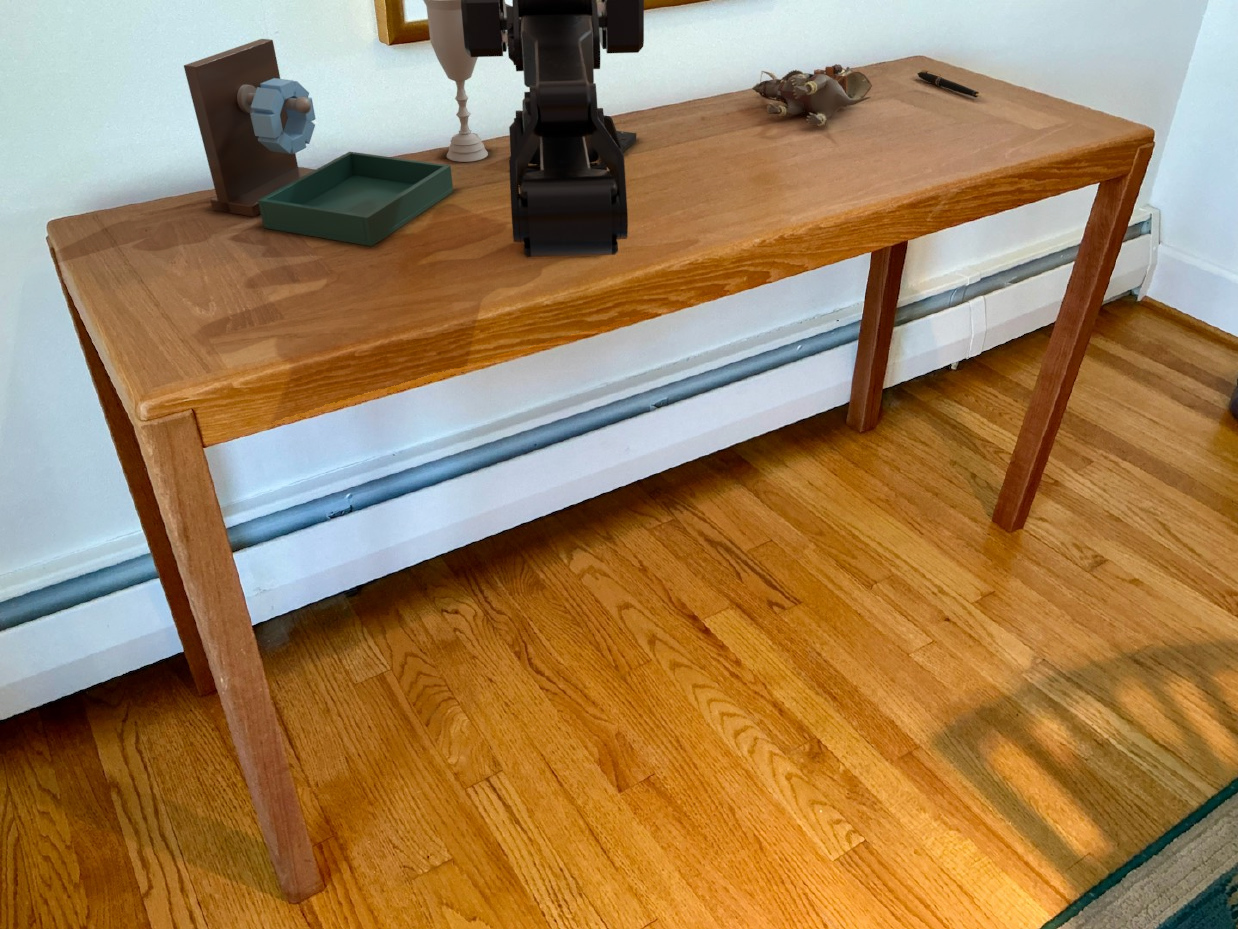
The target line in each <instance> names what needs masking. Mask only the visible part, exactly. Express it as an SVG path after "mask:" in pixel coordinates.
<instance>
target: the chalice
mask: <svg viewBox="0 0 1238 929" xmlns="http://www.w3.org/2000/svg"><path fill="white" fill-rule="evenodd" d="M422 1H423V2H424V5H425V6H426V13H427V14H426V16H427V23H428V24H427V25H428V33H429V40H430V45H431V47H432V49H433V51H434V54H435V56H436V58H437V61H438V62H439V64H440V66H441V68H442V70H443V72H444V73H445V75H446V77H447V78H448V79H449V80H451V81H454V82H455V85H456V96H455V97H454V99H455V101H456V102H457V105H458V111H457V112H456V114H455V116H456V117H457V118H458V119H459V122H460V123H459V124H460V129H459V130H458V133H456V134H454V135H453V136H452V138H451V139H450V143H449V146H448V152H447V154H446V158H447V159H448V160H450V161H453V162H460V163H466V162H467V163H470V162H476V161H480V160H483V159H485V158H487V157H488V155H489V152H488V151H487V150H486V148H485V144H484V143H483V142H482V138H481V137H480V136H479V135H478V134H477V133H475V132H472V130H471V129H470V126H469V117H470V116H471V111H469V110H468V108H467V104H468V103H467V102H468V100H469V96H468V95H467V92H466V89H465V84H466V81H468V80H469V79H471V78H472V76H473V73H474V70H475V67H476V64H477V61H478V58H479V57H470V55H469V54H468V53H467V52H466V51H465V45H464V34H463V23H462V12H461V0H422Z"/></svg>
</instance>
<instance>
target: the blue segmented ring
mask: <svg viewBox="0 0 1238 929" xmlns="http://www.w3.org/2000/svg"><path fill="white" fill-rule="evenodd" d="M260 85H261V88H258V87H257V89H256V92H255V95H254V99H253V102H252V105H251V108H252V109H253V110H254V111H255V112H253V113H250V115H251V119H252V124H253V128H254V133H255V136H259V138H258V141H259V142H260V143H262V144H263V145H264V146H265V147H266V148H268V149H269V150H270V151H274V152H282V153H289V154H296V153H299V152H301V151H303V150H306V148H307V145H310V143H311V140H312V138H313V135H314V134H313V133H314V131H315V128H316V124H315V123H314V122H313V121H315V120H316V119H317V118H316V113H315V108H314V103H313V98H312V97H309V96H310V92H309V91H308V90H307V89H306V88H305V87H304V86H303V85H302V84H301V83H300V82H299V81H296V80H293V79H285V78H280V79H277V78H273V79H271V80H268V81H266V82H263V83H261V84H260ZM298 97H306V98H307V99H308V100H309V101H310V103H311V110H310V111H309V112H308V113H307V114H300V113H298V112H297V111H294V110H286V111H287V116H288V119H287V123H286V126H285V129H284V132H283V128H282V123H281V118H280V113H281V110H282V106H283V103H284V100H286V99H288V98H296V99H297V98H298Z"/></svg>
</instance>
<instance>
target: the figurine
mask: <svg viewBox="0 0 1238 929" xmlns="http://www.w3.org/2000/svg"><path fill="white" fill-rule="evenodd" d="M763 74H766V75H768V76H769V77H770V78H771V79H768V80H762V78H763ZM872 87H873V84H872V82H871V80H870V79H869V78H868V76H867V75H866V74H865V73H863V72H862V71H860V70H853V69H851V68H850V67H849V66H847V67H846V69H845V67H843V66H842V65H841V64H837V63H835V64H834V65H831V66H825V68H824V69H819V68H818V69H813V73H807V72H803V71H802V70H798V69H793V70H791V71H788V73H786V74H785V75H784V76H782V78H781V79H780V78H778V77H777V76H776V75H775V74H774V73H773V72H769V71H765V70H761V74H760V79H759V83H756V84H755V85H753V87H752V88H751V90H753V91H755V92H756V93H758V94H759V96H760V97H762V98H763V99H765V100H769V101H775V102H781V103H783V104H784V105H785V106H786V107H785V106H783V105H782V104H781V105H778V106H776V105H775V104H774V103H772V102H768V104H769V105H767V106H766V109H765V110H766V111H767V113H766V115H777V116H779V117H780V118H781V117H784V116H788V117H789V116H790V117H791V116H796V115H799V114H803V113H804V112H806V113H808V114H809V115H806V119H805V120H806V122H807V123H806V125H809V126H811V125H816V126H818V127H821V126H825V123H826V121H827V120H829V119H830V118H831V117H832V116H834V115H835V114H836V113H837V112H838V111H839V110H840V109H841V108H846V107H848V106H854V105H855V106H856V105H857V104H859V103H862V102H864V101H867V100H869V99H871V96H867V94H868V93H869V92H870V91H871V89H872Z"/></svg>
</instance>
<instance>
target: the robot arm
mask: <svg viewBox="0 0 1238 929" xmlns="http://www.w3.org/2000/svg"><path fill="white" fill-rule="evenodd" d="M511 3H512V5H510V4H507V3H506V0H461V12H462V23H463V34H464V45H465V51H466V52H467V53H468V54H469V55H470V57H478V58H486V57H487V58H489V57H490V58H491V57H504V53H506V52H507V55H508V59H509V60H510V61H511V62H512V63H513V66H515V72H523V84H524V86H525V87H526V88H529V89H528V90H529V91H524V93H523V94H524V95H523V96H524V98H523V100H521V101H522V102H521V103H522V106H521V107H522V109H521V110H519V109H518V110H515V117H514V118H513V122H512V123H511V124H510V125H509V127H508V129H509V148H510V149H509V150H510V152H509V153H510V157H509V160H508V165H509V188H510V208H511V209H510V210H511V212H510V213H511V227H512V239H513V244H523V255H524V257H525V258H527V259H543V258H567V257H568V258H570V257H589V256H590V257H595V256H615V255H616V254H617V253H618V252H619V243H618V240H627V239H628V232H629V230H628V229H629V227H628V226H629V221H628V220H629V218H628V216H629V214H628V198H627V197H628V196H627V182H626V168H625V167H626V166H625V157H624V156H625V155H624V152H623V153H622V151H621V150H620V149H619V147H618V146H617V144H616V143H615V141H614V140H613V138H612V137H611V136H610V134H609V133H608V131H607V130H606V128H605V127H604V115H605V114H604V113H605V112H604V107H598V92H597V84H596V83H595V75H594V74H595V73H594V72H595V71H594V70H601V48H602V50H605V52H606V54H638V53H639V52H640V51H641V50H642V49H643V47H644V43H645V28H644V27H645V0H512V1H511ZM597 161H598V162H597Z"/></svg>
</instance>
